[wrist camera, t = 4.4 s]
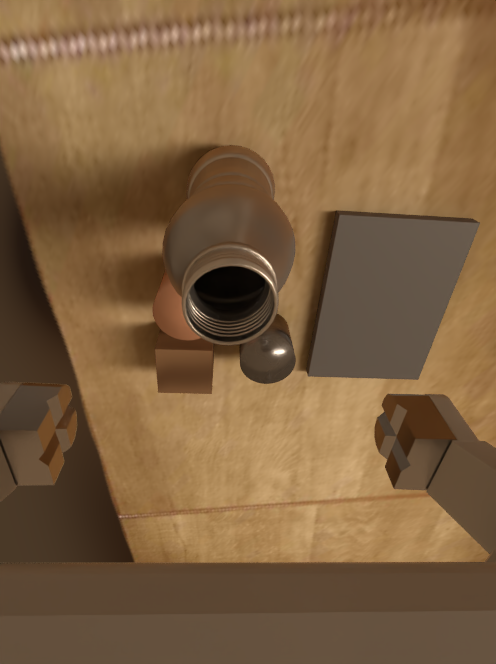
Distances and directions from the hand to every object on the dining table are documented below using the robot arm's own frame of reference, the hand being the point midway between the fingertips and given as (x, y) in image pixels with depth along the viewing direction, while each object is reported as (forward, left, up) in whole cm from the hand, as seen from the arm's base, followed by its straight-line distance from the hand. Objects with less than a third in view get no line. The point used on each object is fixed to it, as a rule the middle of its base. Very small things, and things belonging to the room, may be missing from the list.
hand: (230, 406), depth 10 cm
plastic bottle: (0, 0, -26) cm, 26 cm away
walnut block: (+15, -4, -25) cm, 30 cm away
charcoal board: (+10, +15, -25) cm, 31 cm away
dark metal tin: (+14, +4, -25) cm, 29 cm away
